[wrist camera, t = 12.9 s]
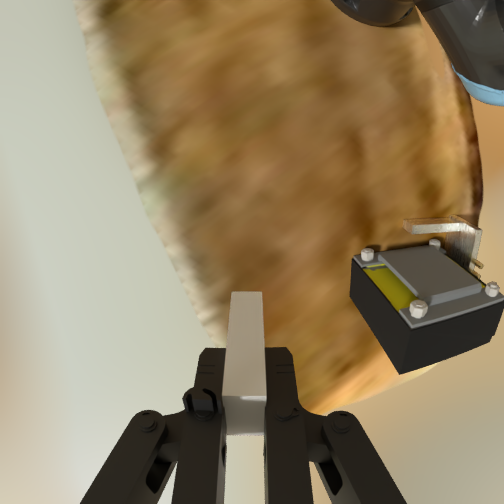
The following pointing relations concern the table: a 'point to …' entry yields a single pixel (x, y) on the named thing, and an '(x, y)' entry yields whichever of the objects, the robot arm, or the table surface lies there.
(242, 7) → the table surface
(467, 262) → the mounting bracket
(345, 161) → the table surface
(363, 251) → the electrical component
